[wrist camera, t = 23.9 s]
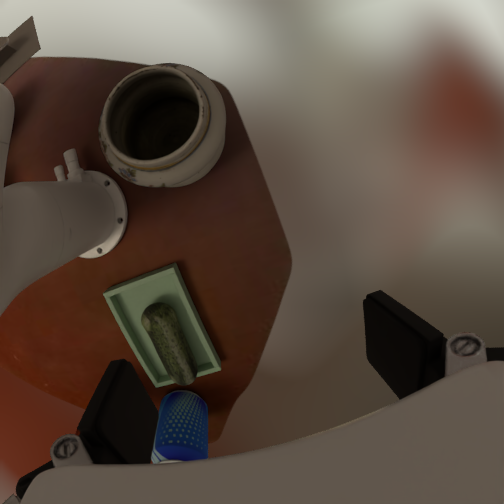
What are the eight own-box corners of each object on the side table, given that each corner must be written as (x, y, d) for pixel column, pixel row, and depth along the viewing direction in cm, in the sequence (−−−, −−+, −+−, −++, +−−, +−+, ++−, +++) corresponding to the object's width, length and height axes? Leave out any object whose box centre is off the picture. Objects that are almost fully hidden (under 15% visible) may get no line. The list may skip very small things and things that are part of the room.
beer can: (157, 411, 45) (145, 477, 29) (166, 381, 44) (153, 451, 28) (200, 423, 46) (200, 489, 31) (213, 394, 45) (215, 465, 30)
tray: (108, 287, 39) (102, 293, 37) (175, 262, 39) (173, 267, 37) (158, 378, 43) (155, 387, 41) (220, 361, 44) (221, 370, 41)
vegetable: (176, 295, 38) (153, 297, 41) (150, 312, 34) (129, 312, 36) (210, 375, 41) (187, 372, 43) (191, 396, 37) (168, 390, 39)
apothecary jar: (159, 203, 37) (112, 215, 20) (125, 128, 34) (64, 92, 17) (238, 163, 38) (255, 143, 20) (202, 89, 35) (193, 23, 17)
